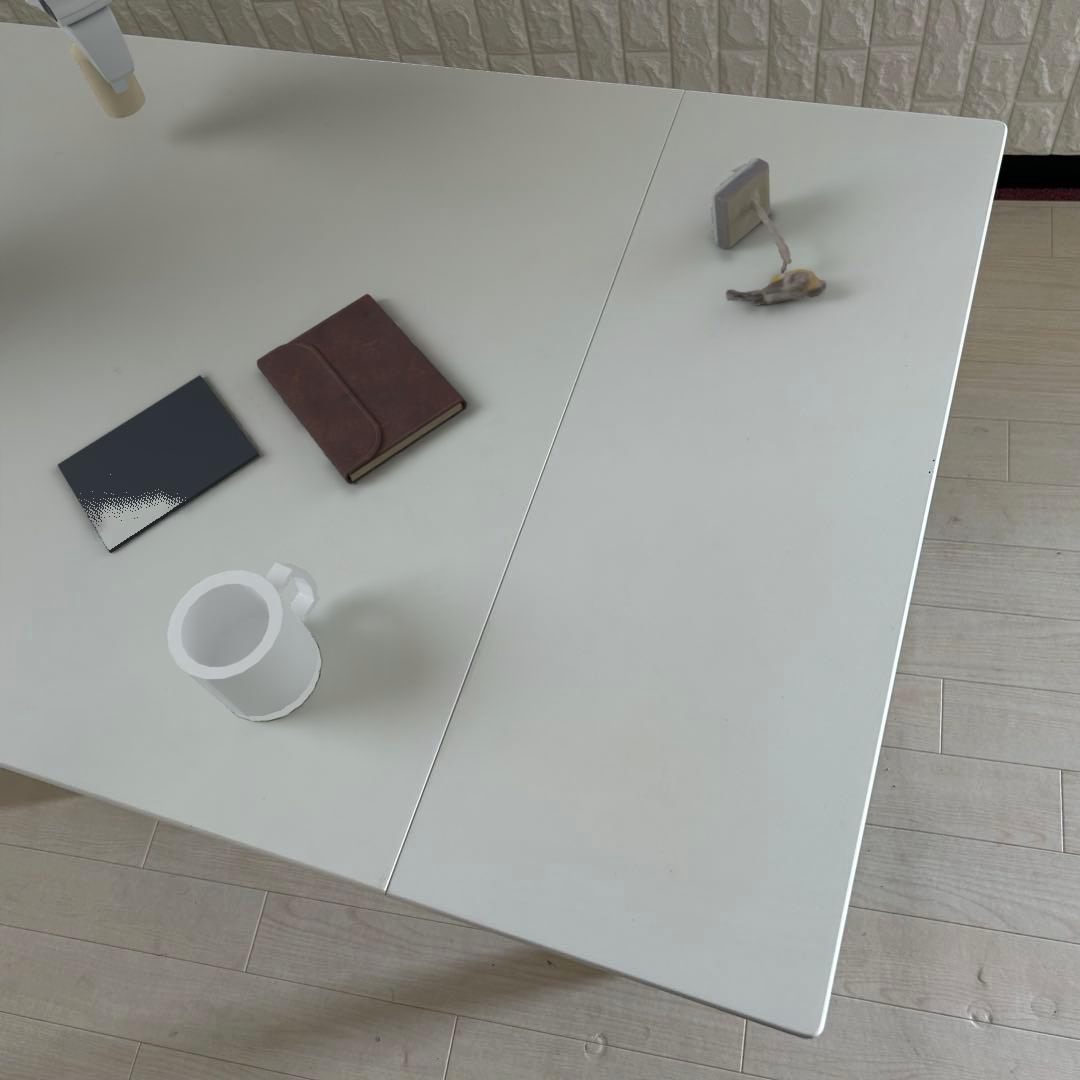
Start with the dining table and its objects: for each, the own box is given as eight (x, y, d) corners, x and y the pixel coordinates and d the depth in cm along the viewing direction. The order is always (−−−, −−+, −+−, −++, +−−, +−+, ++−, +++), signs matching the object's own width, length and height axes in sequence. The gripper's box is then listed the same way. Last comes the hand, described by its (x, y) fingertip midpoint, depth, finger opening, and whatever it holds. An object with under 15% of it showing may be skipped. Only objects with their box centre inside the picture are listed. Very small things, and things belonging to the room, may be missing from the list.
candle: (143, 85, 135) (106, 13, 127) (148, 110, 132) (111, 39, 124) (101, 98, 135) (62, 27, 126) (106, 124, 132) (66, 53, 123)
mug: (277, 577, 103) (235, 523, 94) (361, 616, 100) (327, 565, 91) (195, 694, 98) (143, 650, 89) (281, 740, 95) (236, 699, 86)
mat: (110, 553, 107) (108, 551, 107) (59, 467, 114) (56, 464, 113) (259, 455, 111) (257, 453, 110) (201, 377, 117) (199, 374, 117)
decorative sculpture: (828, 300, 111) (836, 250, 104) (744, 332, 110) (747, 284, 104) (760, 203, 119) (764, 151, 112) (681, 232, 118) (680, 182, 112)
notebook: (373, 301, 119) (368, 289, 118) (468, 407, 110) (464, 395, 108) (260, 372, 116) (254, 360, 115) (348, 486, 107) (343, 476, 106)
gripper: (-7, -56, 122) (55, 50, 134) (60, 21, 113) (120, 127, 125) (42, -80, 123) (98, 27, 135) (112, -6, 114) (166, 102, 126)
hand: (109, 76), depth 130 cm, fingers closed on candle, 5 cm apart
